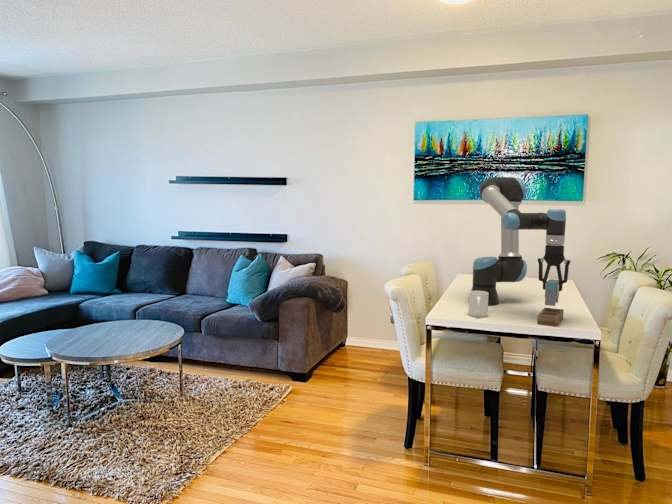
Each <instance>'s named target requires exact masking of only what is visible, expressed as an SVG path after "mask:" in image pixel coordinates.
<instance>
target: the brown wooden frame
mask: <svg viewBox="0 0 672 504" xmlns="http://www.w3.org/2000/svg"><path fill="white" fill-rule="evenodd" d="M564 311H565V310H564V309H563V308H561V309H560V308H555V307H554V308H553V307H543V309H542V310H541V311H540V312H539V313H538V314H537V321H536V324H537V325H542V326H549V327H550V326H551V327H558V326H559V325H560V324H561V322H562V321H563V319H564Z"/></svg>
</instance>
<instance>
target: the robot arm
mask: <svg viewBox="0 0 672 504" xmlns="http://www.w3.org/2000/svg"><path fill="white" fill-rule="evenodd" d="M526 194H527V186H526V183H525V182H524V181H523V179H522V178H520V177H514V176H510V177H509V176H507V177H506V176H505V177H504V176H501V177H500V176H499V177H498V176H494V177H493V176H491V177H489V178H486V179H485V180H483V181H482V182H481V184H480V186H479V189H478V195H479V197H480V199H481V200H482V201H483V202H484V203H486V204H489V205H490V206H491V208H492V209H494V210H495V211H496V213H497V214H499V217H500V224H501V225H500V235H501V237H500V242H501V243H500V245H501V246H500V251H501V252H500V254H499V255H498V257H496V256H483V257H482V256H481V257H477V258H475V259H474V260H473V265H472V288H471V290H470V291H485V292H488V293H489V295H488V306H496V305H499V303H500V298H499V294H498V292H497V283H520V282H521V281H523V280H524V278H525V276H526V275H527V271H528V265H527V262H526V261H525V259H523V256H522V254H520V251H519V249H520V248H519V247H520V245H519V243H520V241H519V240H520V239H519V237H520V236H519V234H520V232H519V231H520V230H523V231H524V230H531V231H532V230H534V231H535V230H537V231H538V230H544V231H546V232H545V244H546V245H545V248H544V249H545V250H544V255H543V257H538V258H537V262H538V280H539V281H540V282H542V290H543V291H544V294H545V293H546V282H547V281H548V278H549V277H548V276H549V274H550V270H551V267H556V273H557V280H559V283H558V284H557V295H556V299H558V300H559V299H560V292H562V291H563V284H566V283H568V278H569V269H570V268H569V267H570V264H571V262H572V261H571V260H570V259H566V257H565V236H566V224H567V223H566V222H567V216H566V215H567V211H566V209H564V208H563V209H562V208H560V209H559V208H557V209H556V208H548V210H547V212H521V211H520V210H519V206H521V204H522V201H523V200H524V199H525V198H526ZM544 261H545V263H546V264H547V265H546V269H545V271H543V269H544V268H543V266H544V265H543V263H544ZM563 262H564V264H565V266H564V274H563V275H562V269H561V264H562V263H563ZM543 273H544V277H543ZM468 302H469V299H468Z"/></svg>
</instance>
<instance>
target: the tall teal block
mask: <svg viewBox="0 0 672 504" xmlns="http://www.w3.org/2000/svg"><path fill="white" fill-rule="evenodd" d="M558 283H559V280H558V279H552V278H551V279H547V282H546V293H545V292H544V298H545V299H544V305H545V306H549V307H550V306H551V307H555V306H556V303H557V304H558V303H559V298H558V299H556V295H557V284H558Z"/></svg>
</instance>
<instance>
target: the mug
mask: <svg viewBox="0 0 672 504" xmlns="http://www.w3.org/2000/svg"><path fill="white" fill-rule="evenodd" d="M488 295H489V293H488V292H485V291H471V290H470V291H469V292H468V300H469V301H468V315H469V316H471V317H473V316H474V317H475V318H486V317H487V316H488V313H489V311H488V310H489V305H488ZM474 317H473V318H474Z"/></svg>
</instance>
